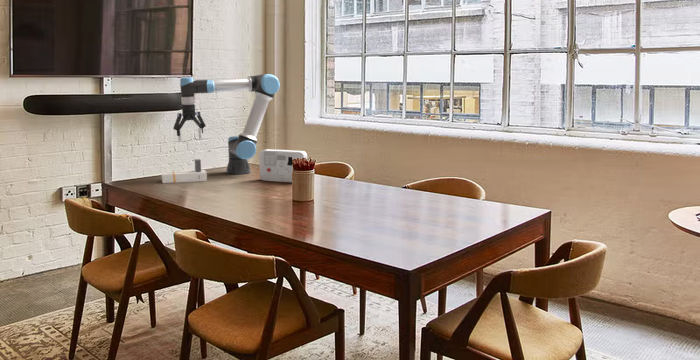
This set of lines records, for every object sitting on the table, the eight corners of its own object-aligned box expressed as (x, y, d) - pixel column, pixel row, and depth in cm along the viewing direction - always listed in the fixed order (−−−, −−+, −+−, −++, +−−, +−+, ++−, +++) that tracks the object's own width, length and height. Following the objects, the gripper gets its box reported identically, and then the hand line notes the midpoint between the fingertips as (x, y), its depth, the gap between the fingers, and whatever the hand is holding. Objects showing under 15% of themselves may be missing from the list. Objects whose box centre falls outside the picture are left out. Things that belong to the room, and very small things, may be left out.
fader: (200, 177, 396) (199, 159, 394) (201, 178, 392) (200, 160, 390) (195, 177, 395) (194, 159, 393) (196, 178, 391) (195, 160, 389)
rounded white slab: (257, 181, 390) (257, 150, 387) (263, 179, 397) (263, 149, 394) (302, 183, 380) (302, 152, 377) (307, 181, 387) (307, 151, 384)
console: (204, 178, 400) (204, 169, 399) (207, 180, 390) (206, 172, 389) (161, 180, 392) (161, 171, 391) (162, 183, 382) (162, 174, 381)
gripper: (203, 102, 399) (205, 137, 402) (165, 105, 382) (168, 142, 385) (210, 103, 393) (212, 138, 397) (172, 105, 376) (175, 142, 380)
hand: (190, 140), depth 391 cm, fingers open, 13 cm apart
